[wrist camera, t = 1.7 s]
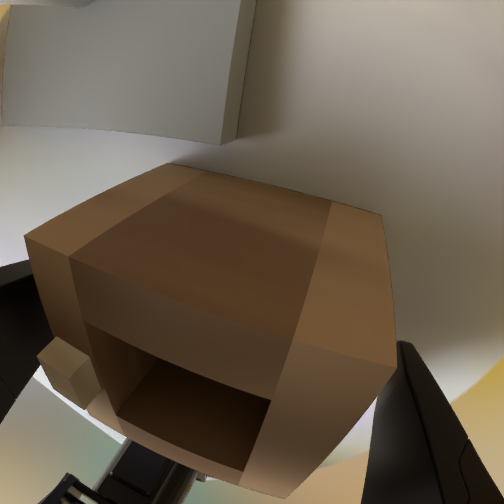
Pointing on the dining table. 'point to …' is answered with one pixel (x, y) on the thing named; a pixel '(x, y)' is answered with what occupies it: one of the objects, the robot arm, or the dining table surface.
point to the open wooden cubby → (218, 320)
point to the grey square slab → (128, 66)
